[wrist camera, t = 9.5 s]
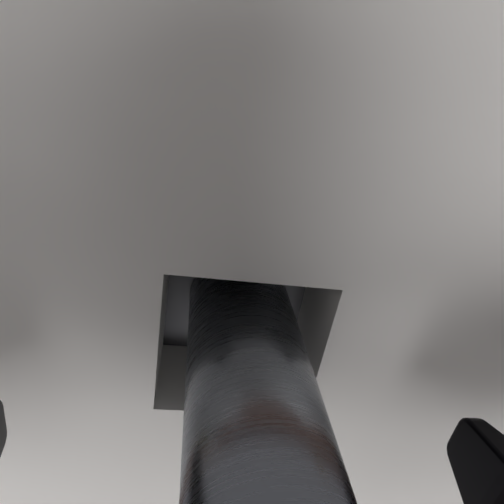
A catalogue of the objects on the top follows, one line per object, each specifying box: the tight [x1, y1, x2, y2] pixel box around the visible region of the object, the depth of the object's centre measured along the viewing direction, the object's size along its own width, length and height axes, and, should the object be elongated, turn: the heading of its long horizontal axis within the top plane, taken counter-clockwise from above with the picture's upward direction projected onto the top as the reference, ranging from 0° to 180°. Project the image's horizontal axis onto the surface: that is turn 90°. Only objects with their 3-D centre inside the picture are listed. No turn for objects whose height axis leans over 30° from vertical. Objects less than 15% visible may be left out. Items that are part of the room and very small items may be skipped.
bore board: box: [0, 0, 504, 504], centre depth 11 cm, size 18×16×3 cm
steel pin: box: [179, 277, 357, 504], centre depth 8 cm, size 3×3×9 cm
